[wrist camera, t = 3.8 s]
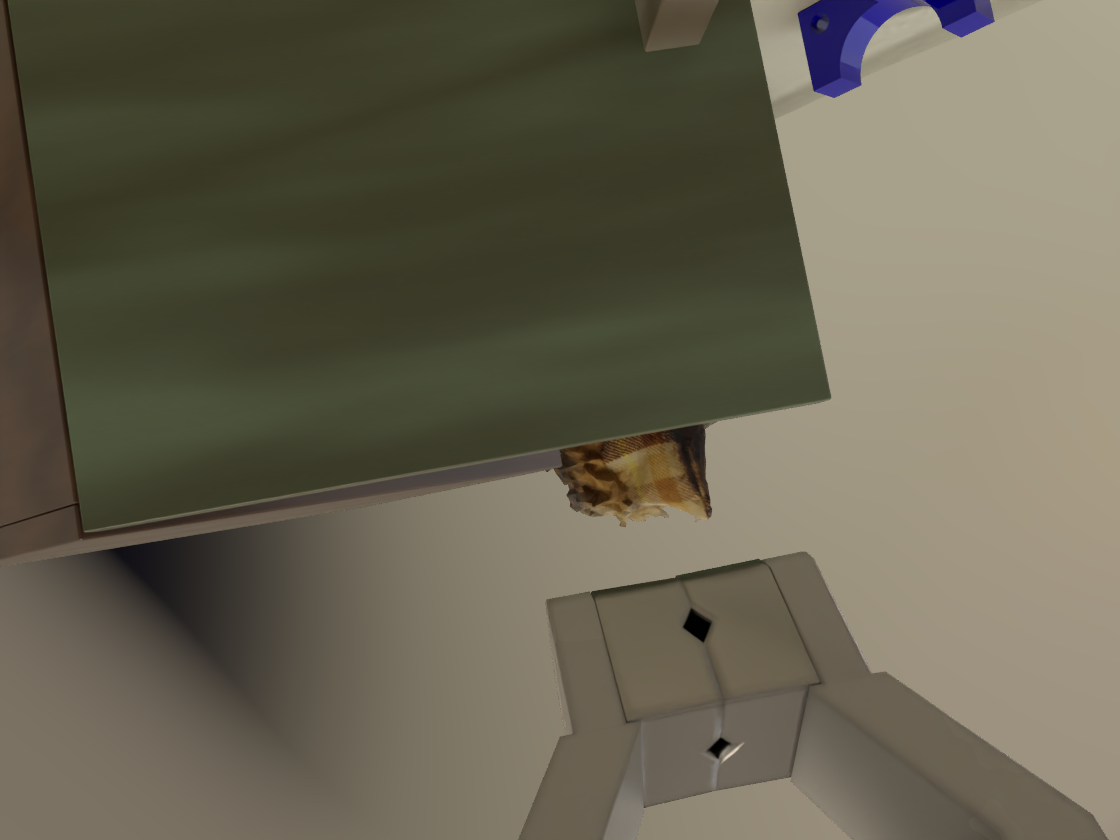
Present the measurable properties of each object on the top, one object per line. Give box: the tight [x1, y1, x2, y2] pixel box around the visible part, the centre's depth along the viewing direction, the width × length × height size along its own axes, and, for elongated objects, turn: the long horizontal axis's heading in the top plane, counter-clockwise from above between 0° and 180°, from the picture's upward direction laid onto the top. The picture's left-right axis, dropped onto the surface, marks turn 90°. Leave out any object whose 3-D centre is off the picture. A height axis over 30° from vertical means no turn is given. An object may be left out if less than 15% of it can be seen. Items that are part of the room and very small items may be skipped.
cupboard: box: [0, 0, 562, 567], centre depth 38 cm, size 14×20×20 cm
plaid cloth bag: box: [545, 421, 717, 527], centre depth 52 cm, size 14×14×25 cm
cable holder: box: [798, 0, 995, 98], centre depth 43 cm, size 8×4×4 cm, turn 137°
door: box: [8, 0, 831, 532], centre depth 23 cm, size 6×20×20 cm, turn 86°
